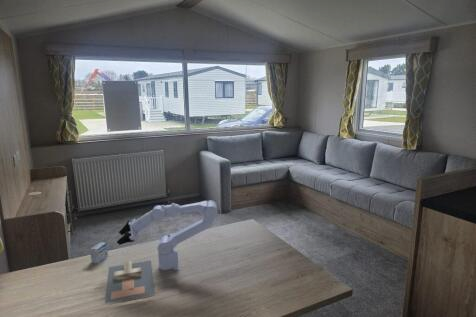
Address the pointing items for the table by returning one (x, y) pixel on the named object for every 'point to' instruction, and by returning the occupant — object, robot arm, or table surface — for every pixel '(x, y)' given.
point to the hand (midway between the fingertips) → (119, 238)
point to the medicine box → (98, 252)
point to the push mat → (130, 283)
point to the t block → (127, 272)
